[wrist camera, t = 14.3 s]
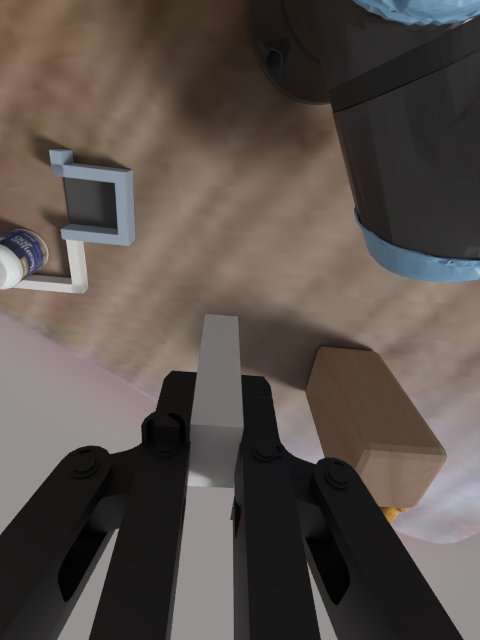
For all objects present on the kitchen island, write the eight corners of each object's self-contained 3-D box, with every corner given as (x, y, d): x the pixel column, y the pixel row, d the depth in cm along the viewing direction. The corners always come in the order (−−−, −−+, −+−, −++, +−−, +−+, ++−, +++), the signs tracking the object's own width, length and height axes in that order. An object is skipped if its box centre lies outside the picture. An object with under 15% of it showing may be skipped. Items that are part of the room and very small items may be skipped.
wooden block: (302, 392, 56) (336, 508, 38) (317, 343, 51) (363, 450, 34) (358, 396, 57) (416, 512, 39) (378, 349, 52) (454, 456, 35)
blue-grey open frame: (-64, 133, 36) (-87, 133, 33) (132, 157, 38) (124, 159, 35) (-39, 221, 41) (-57, 226, 38) (135, 239, 42) (129, 246, 40)
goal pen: (-40, 216, 40) (-52, 220, 39) (81, 229, 42) (75, 233, 40) (-22, 277, 44) (-33, 283, 42) (88, 287, 45) (82, 293, 44)
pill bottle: (58, 261, 44) (16, 292, 35) (22, 273, 44) (-28, 305, 36) (34, 222, 41) (-17, 244, 32) (-4, 234, 42) (-63, 259, 33)
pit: (64, 172, 38) (63, 173, 38) (122, 179, 39) (121, 180, 39) (71, 223, 41) (70, 223, 41) (125, 229, 42) (124, 229, 41)
